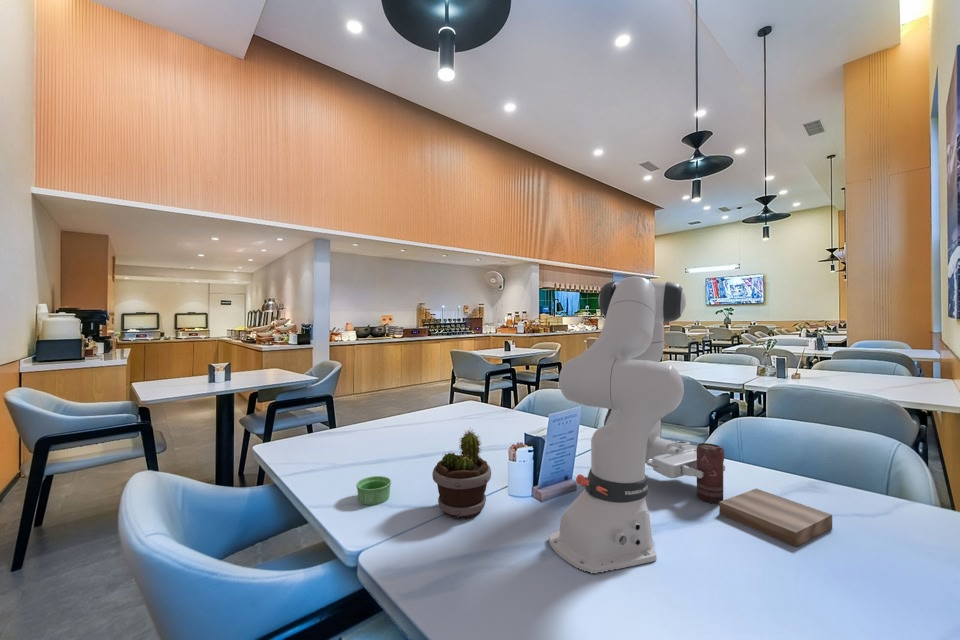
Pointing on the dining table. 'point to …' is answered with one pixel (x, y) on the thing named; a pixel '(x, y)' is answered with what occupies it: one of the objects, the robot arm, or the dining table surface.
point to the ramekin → (373, 490)
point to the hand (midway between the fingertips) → (713, 471)
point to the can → (710, 472)
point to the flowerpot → (462, 479)
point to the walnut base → (776, 516)
